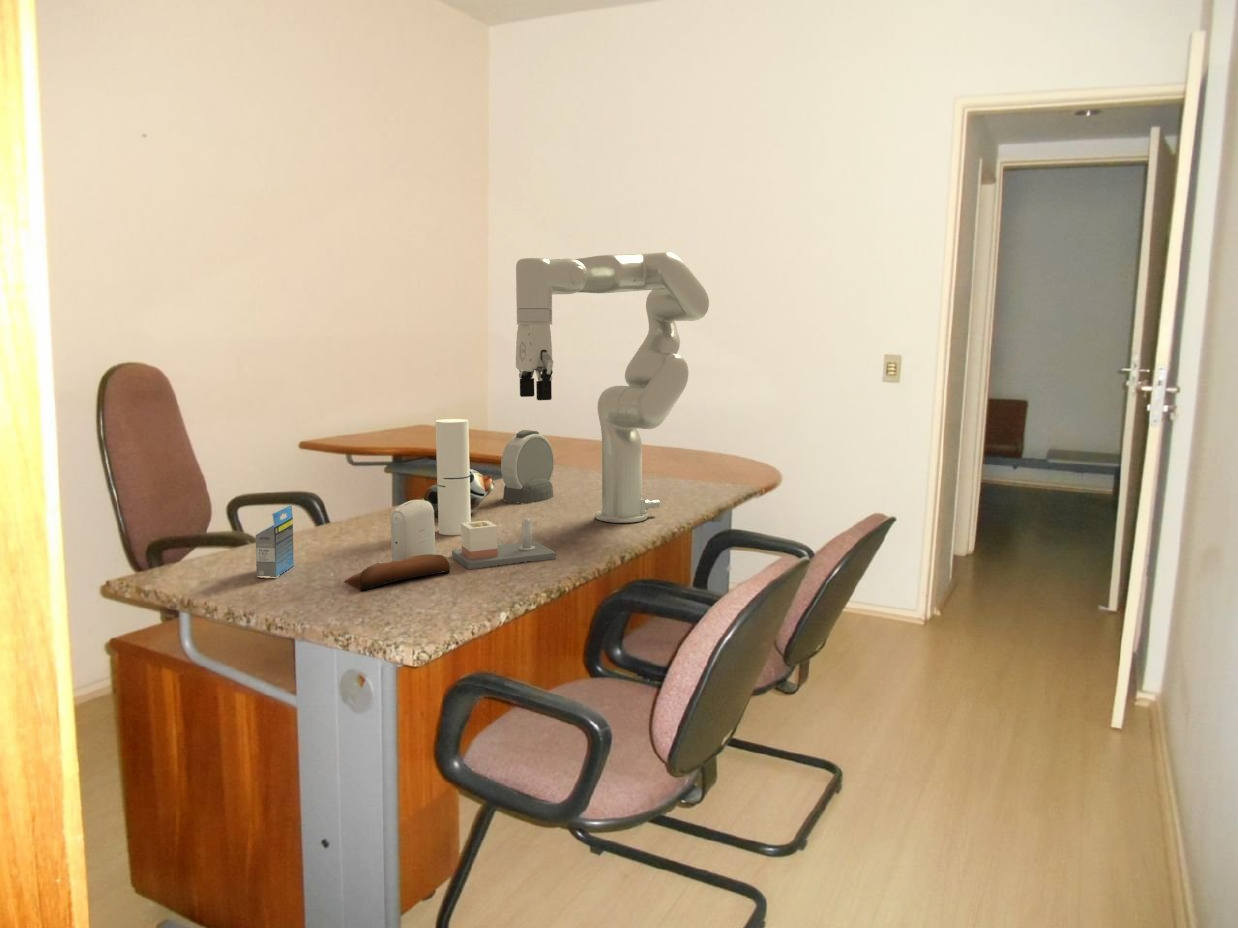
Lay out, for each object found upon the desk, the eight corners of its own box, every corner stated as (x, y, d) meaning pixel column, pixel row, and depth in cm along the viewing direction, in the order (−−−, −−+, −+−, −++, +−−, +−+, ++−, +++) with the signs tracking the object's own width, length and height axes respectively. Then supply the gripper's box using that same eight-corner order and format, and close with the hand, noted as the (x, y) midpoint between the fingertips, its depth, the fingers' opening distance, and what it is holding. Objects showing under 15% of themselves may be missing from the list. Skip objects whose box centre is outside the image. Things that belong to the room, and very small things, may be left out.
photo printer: (407, 570, 175) (405, 506, 173) (388, 568, 177) (386, 504, 175) (438, 558, 184) (437, 497, 182) (420, 555, 186) (419, 495, 184)
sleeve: (461, 552, 184) (460, 523, 183) (488, 549, 186) (488, 520, 185) (470, 559, 179) (469, 528, 178) (497, 555, 181) (497, 526, 180)
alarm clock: (534, 491, 255) (533, 426, 252) (562, 496, 249) (562, 428, 247) (493, 501, 242) (492, 432, 240) (522, 505, 236) (521, 434, 234)
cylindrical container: (464, 535, 203) (461, 422, 199) (433, 534, 205) (430, 422, 201) (475, 528, 210) (473, 419, 206) (446, 527, 212) (442, 418, 208)
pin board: (535, 546, 194) (534, 511, 193) (555, 558, 184) (555, 521, 183) (451, 556, 186) (450, 519, 185) (468, 569, 176) (467, 530, 175)
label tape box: (275, 566, 178) (271, 503, 176) (296, 566, 178) (292, 504, 176) (255, 579, 169) (252, 513, 167) (277, 579, 169) (274, 513, 167)
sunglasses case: (427, 564, 179) (435, 538, 176) (444, 589, 175) (453, 563, 172) (340, 582, 167) (347, 554, 164) (356, 608, 163) (363, 581, 160)
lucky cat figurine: (466, 505, 237) (489, 459, 233) (484, 531, 228) (508, 484, 224) (414, 495, 227) (437, 447, 223) (431, 522, 218) (455, 472, 214)
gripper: (503, 317, 202) (505, 396, 205) (533, 317, 187) (534, 402, 190) (535, 317, 205) (536, 394, 208) (567, 317, 190) (567, 400, 193)
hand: (535, 398), depth 199 cm, fingers open, 9 cm apart
